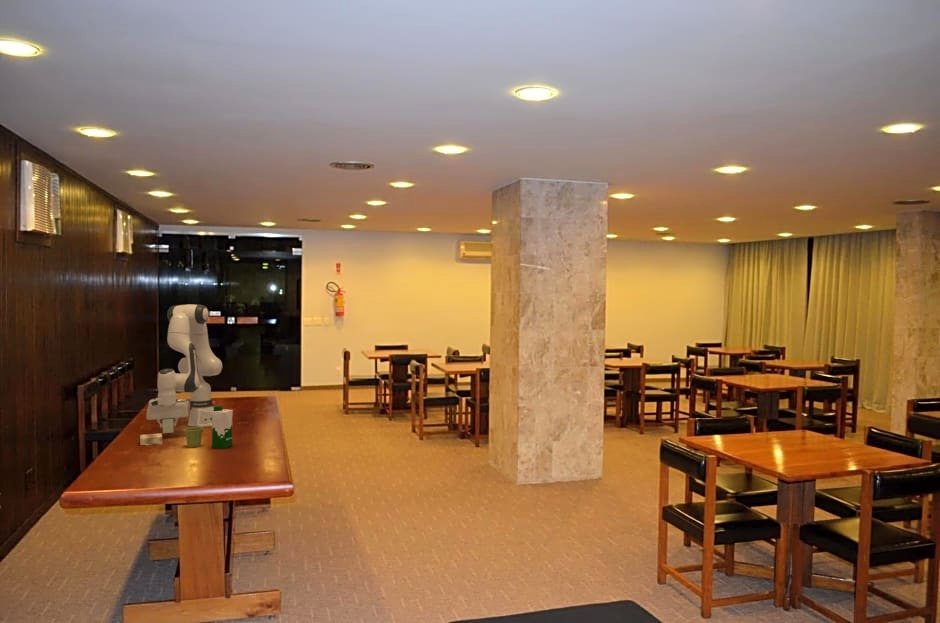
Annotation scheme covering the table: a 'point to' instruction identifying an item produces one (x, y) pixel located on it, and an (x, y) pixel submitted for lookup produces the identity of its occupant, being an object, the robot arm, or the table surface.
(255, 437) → the table surface
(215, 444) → the milk carton
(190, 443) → the plant pot
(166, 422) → the sage block
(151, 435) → the birch block
